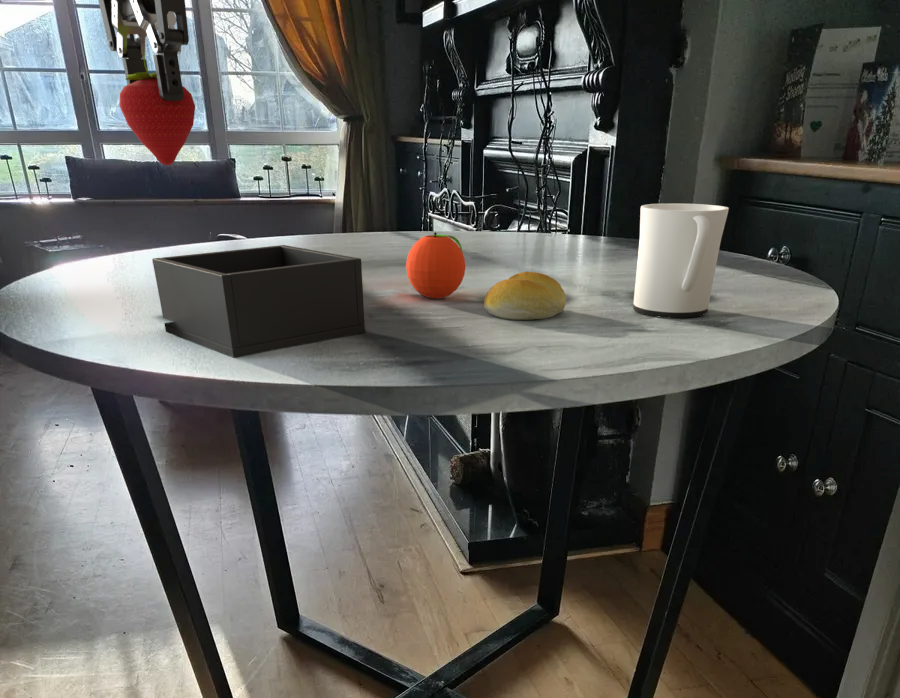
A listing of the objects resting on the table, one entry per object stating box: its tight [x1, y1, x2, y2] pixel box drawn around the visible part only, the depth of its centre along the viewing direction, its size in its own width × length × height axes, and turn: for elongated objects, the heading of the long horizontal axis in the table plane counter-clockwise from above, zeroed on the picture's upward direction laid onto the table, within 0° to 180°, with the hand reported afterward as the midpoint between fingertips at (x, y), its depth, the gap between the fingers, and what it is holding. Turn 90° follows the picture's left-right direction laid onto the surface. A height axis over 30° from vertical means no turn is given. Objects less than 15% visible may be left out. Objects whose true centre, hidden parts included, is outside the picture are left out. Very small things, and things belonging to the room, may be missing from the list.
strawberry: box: [119, 50, 196, 166], centre depth 80 cm, size 6×8×10 cm
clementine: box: [405, 232, 466, 300], centre depth 91 cm, size 8×7×7 cm
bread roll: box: [483, 271, 567, 321], centre depth 84 cm, size 8×9×4 cm
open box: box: [151, 244, 366, 358], centre depth 75 cm, size 15×14×7 cm
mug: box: [632, 203, 730, 319], centre depth 83 cm, size 11×9×10 cm
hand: (156, 100), depth 79 cm, fingers closed on strawberry, 6 cm apart
